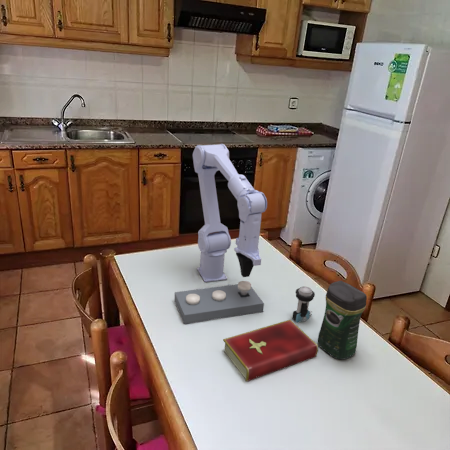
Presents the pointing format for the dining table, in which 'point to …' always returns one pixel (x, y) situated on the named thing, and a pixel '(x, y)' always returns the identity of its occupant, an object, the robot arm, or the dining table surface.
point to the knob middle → (219, 295)
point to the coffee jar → (341, 320)
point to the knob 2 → (244, 287)
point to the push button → (303, 304)
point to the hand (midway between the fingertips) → (245, 275)
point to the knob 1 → (192, 299)
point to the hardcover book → (269, 349)
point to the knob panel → (217, 304)
